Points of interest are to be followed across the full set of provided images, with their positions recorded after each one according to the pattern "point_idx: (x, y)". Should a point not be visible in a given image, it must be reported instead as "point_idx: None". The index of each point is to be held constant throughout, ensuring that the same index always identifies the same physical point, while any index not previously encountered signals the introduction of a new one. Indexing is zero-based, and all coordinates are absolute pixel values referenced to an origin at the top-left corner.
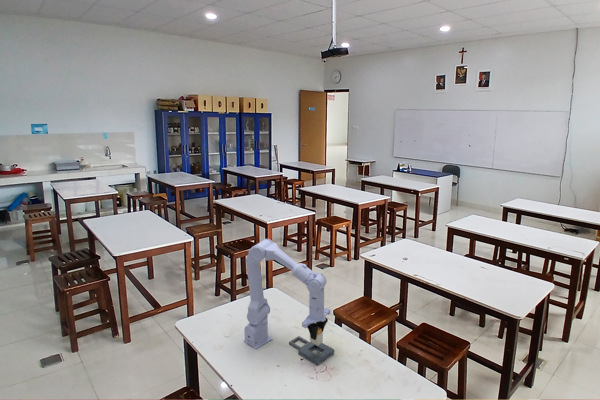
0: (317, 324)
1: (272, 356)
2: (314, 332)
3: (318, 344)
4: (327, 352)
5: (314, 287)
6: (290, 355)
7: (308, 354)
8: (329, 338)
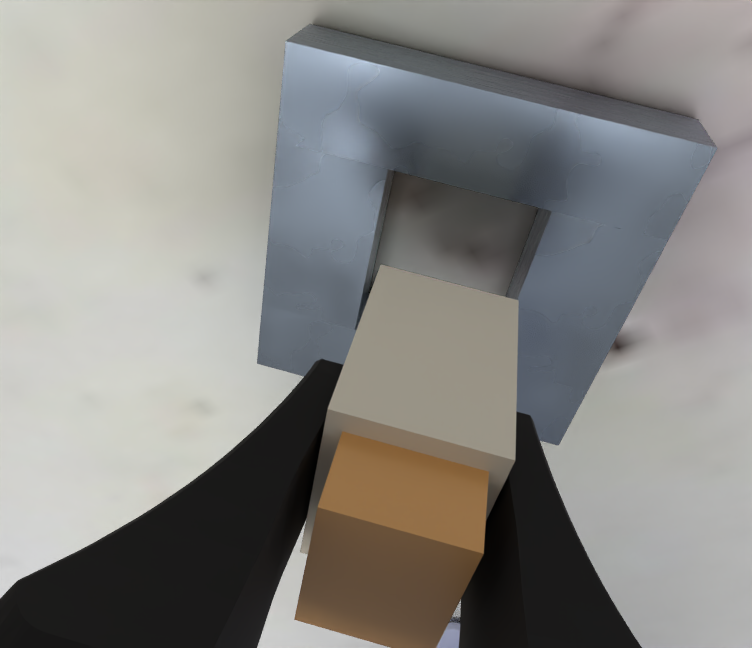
0: (260, 621)
1: (685, 566)
2: (610, 604)
3: (495, 301)
4: (421, 102)
5: None
6: (601, 455)
7: (599, 321)
8: (82, 226)
